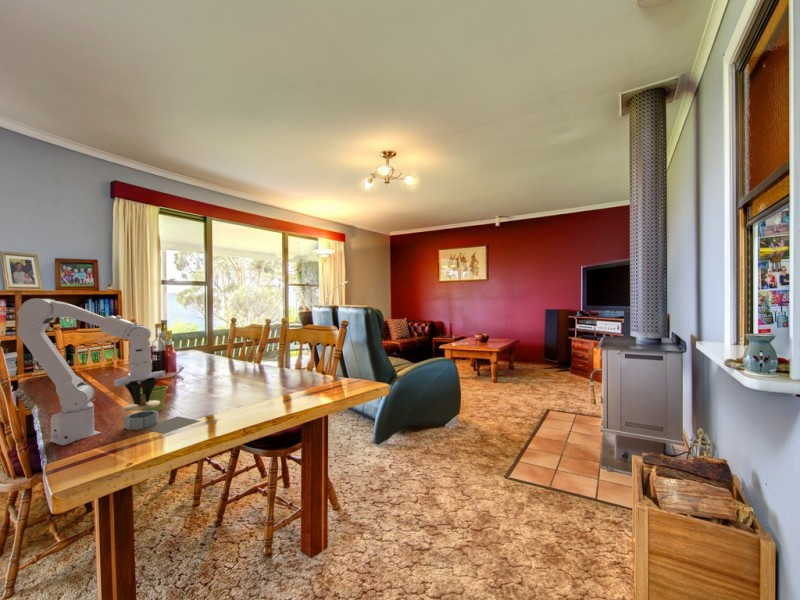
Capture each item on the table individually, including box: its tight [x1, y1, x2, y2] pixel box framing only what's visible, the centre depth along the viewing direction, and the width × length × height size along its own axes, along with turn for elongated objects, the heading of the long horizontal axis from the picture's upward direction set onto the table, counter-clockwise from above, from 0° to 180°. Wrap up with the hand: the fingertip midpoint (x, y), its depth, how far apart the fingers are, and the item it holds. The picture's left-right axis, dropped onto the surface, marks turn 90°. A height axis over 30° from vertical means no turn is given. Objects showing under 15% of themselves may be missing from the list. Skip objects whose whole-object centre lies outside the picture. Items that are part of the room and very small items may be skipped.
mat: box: [141, 416, 200, 435], centre depth 116 cm, size 12×12×1 cm
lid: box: [122, 393, 160, 412], centre depth 116 cm, size 10×10×4 cm
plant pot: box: [140, 385, 169, 412], centre depth 131 cm, size 9×9×9 cm
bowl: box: [123, 410, 160, 431], centre depth 116 cm, size 9×9×4 cm
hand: (141, 402), depth 116 cm, fingers closed on lid, 2 cm apart
